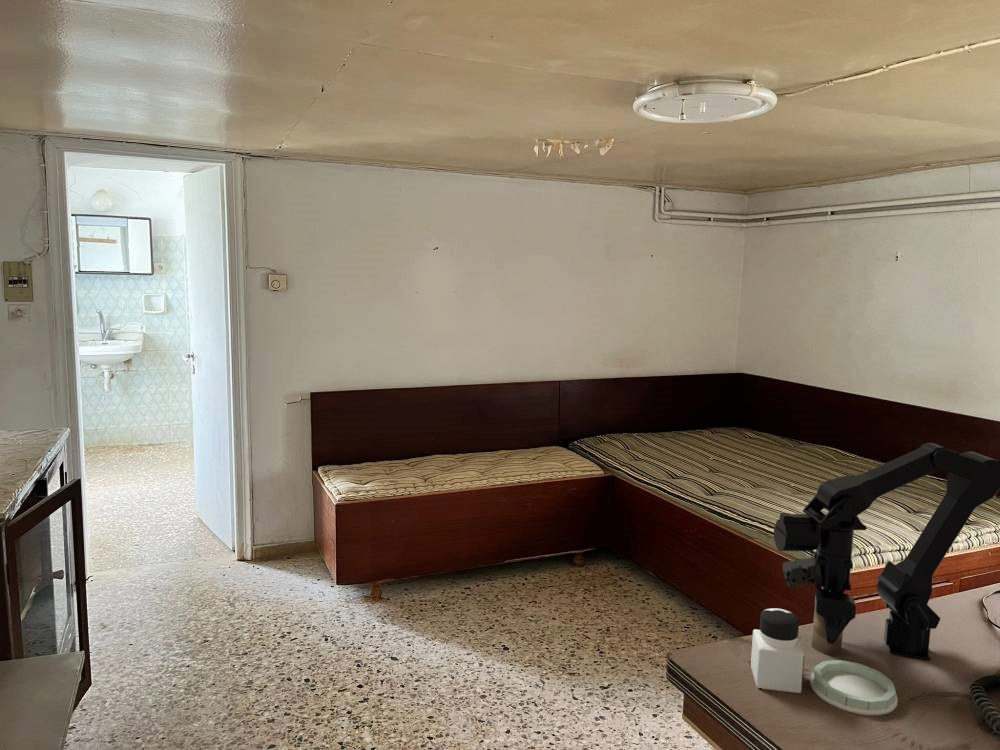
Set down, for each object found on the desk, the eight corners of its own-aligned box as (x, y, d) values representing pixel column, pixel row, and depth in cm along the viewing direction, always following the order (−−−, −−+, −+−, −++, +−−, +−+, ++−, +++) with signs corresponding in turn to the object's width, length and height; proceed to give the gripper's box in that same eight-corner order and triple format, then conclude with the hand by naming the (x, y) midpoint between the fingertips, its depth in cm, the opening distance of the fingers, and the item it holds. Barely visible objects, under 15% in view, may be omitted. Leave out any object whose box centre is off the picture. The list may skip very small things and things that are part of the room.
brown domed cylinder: (840, 643, 133) (842, 608, 132) (842, 657, 128) (845, 620, 127) (811, 638, 135) (813, 604, 134) (812, 651, 130) (815, 615, 129)
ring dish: (890, 679, 121) (891, 667, 121) (903, 723, 109) (905, 710, 109) (808, 664, 126) (808, 653, 126) (812, 704, 114) (813, 692, 114)
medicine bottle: (802, 694, 117) (807, 625, 115) (756, 689, 118) (760, 621, 116) (793, 671, 124) (798, 606, 122) (750, 666, 125) (754, 602, 123)
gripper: (785, 528, 140) (780, 602, 143) (788, 563, 123) (782, 647, 125) (847, 536, 137) (841, 612, 139) (859, 573, 119) (852, 659, 121)
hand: (828, 631), depth 131 cm, fingers open, 9 cm apart
